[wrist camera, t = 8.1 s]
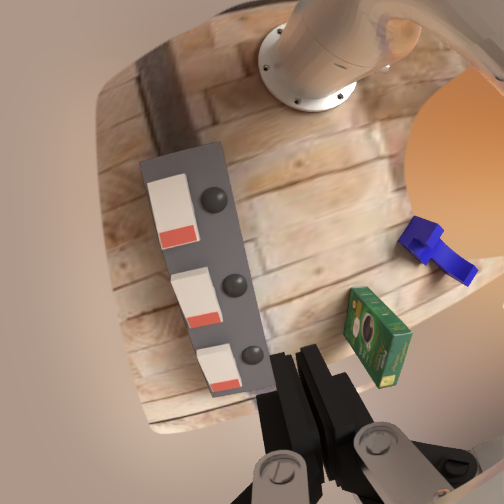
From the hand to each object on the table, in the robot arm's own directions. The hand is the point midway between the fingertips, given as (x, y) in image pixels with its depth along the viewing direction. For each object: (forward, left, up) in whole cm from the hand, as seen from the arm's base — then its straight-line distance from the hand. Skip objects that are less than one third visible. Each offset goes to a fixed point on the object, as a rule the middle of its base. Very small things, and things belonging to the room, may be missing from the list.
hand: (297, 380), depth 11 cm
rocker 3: (+7, +16, -25) cm, 30 cm away
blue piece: (-26, +10, -30) cm, 41 cm away
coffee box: (-13, +16, -29) cm, 36 cm away
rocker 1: (+7, -4, -25) cm, 26 cm away
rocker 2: (+7, +6, -25) cm, 26 cm away
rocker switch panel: (+5, +6, -29) cm, 30 cm away
